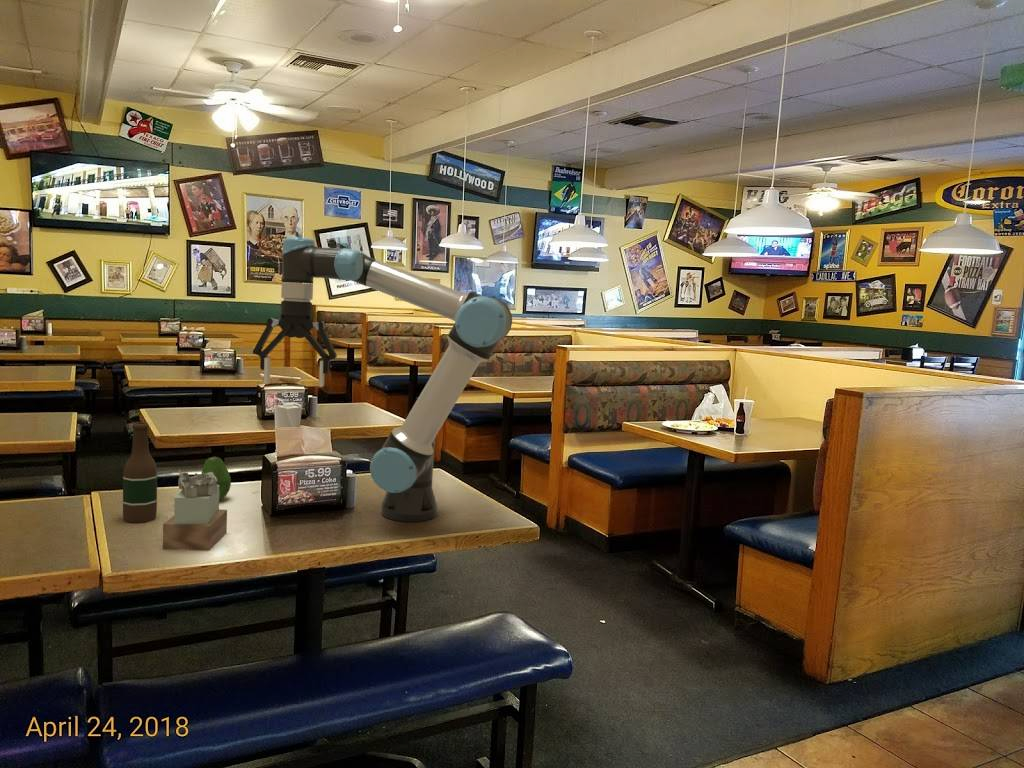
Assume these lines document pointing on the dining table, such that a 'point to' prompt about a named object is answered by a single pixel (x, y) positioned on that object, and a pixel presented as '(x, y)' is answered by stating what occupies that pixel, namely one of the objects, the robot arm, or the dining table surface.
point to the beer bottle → (140, 479)
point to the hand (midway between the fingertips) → (294, 384)
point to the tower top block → (195, 508)
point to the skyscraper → (287, 414)
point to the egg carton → (197, 484)
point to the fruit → (218, 474)
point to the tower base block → (195, 533)
